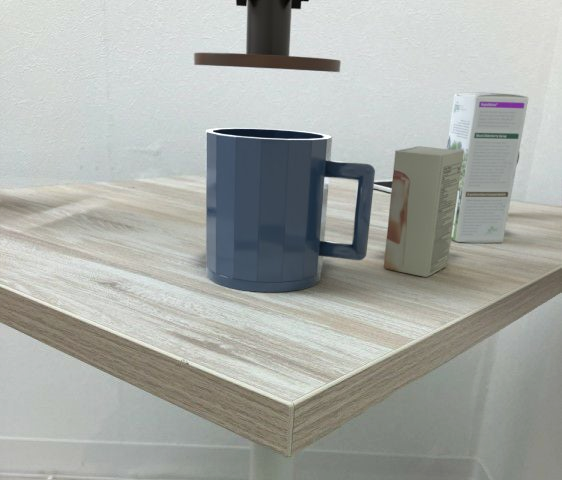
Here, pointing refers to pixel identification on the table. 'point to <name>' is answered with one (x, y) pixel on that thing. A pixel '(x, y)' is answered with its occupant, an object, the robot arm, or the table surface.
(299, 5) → the robot arm
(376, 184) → the cell phone
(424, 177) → the printed cream carton
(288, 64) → the lid
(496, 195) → the syrup box
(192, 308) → the table surface
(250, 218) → the blue faceted mug
